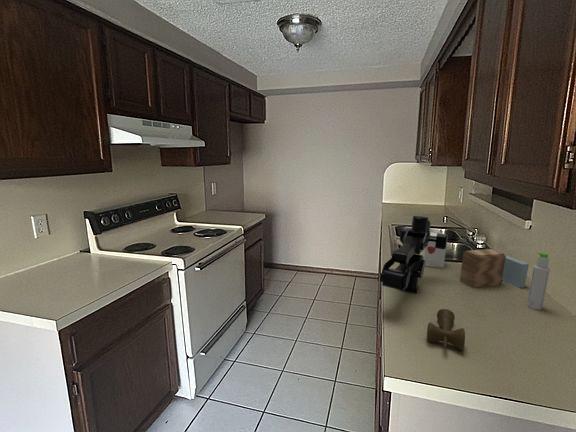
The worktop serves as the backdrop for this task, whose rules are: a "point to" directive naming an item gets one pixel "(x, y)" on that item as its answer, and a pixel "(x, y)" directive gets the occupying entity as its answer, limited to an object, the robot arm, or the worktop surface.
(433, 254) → the supplement box
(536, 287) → the bottle
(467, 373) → the worktop surface
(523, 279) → the board
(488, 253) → the walnut box
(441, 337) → the kendama
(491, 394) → the worktop surface
